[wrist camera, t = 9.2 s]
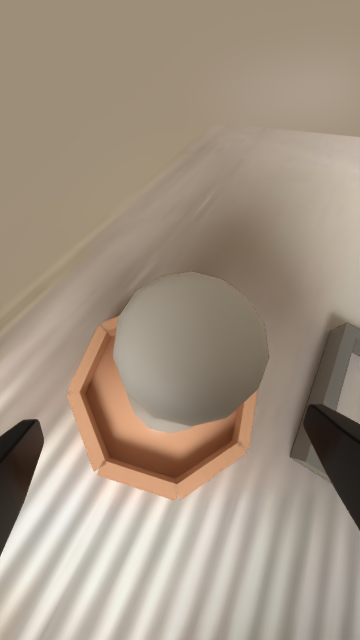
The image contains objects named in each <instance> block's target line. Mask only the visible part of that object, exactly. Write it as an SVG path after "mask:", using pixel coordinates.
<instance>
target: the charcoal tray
mask: <svg viewBox="0 0 360 640" xmlns="http://www.w3.org/2000/svg"><path fill="white" fill-rule="evenodd" d="M352 352H353V353H355V354H357V355H358V356H360V329H358V328H356V327H354V326H352V325H351V324H349V323H345V324H343V325H341V326H339V327H337V328H335V329H333V330H331V332H330V335H329V338H328V341H327V344H326V347H325V350H324V353H323V356H322V359H321V362H320V366H319V369H318V372H317V375H316V378H315V381H314V384H313V387H312V390H311V393H310V396H309V399H308V403H307V406H308V405H309V404H314V403H321V404H323V405H325V406H327V407H329V408H331V409H333V410H335V411H336V408H337V405H338V401H339V397H340V393H341V390H342V386H343V382H344V379H345V375H346V371H347V367H348V364H349V360H350V356H351V353H352ZM307 406H306V409H307ZM306 409H305V412H304V415H303V418H302V421H301V424H300V427H299V430H298V433H297V436H296V439H295V443H294V446H293V449H292V452H291V455H290V457H291V458H292V459H294V460H295V461H297V462H299V463H300V464H302V465H303V466H305V467H307V468H308V469H310V470H311V471H313V472H314V473H316V474H318V475H319V476H321V477H322V478H324V479H326V480H327V481H329V482H330V483H331V481H330V479H329V478H328V476H327V474H326V472H325V470H324V468H323V466H322V464H321V462H320V460H319V458H318V456H317V454H316V452H315V450H314V448H313V446H312V444H311V442H310V440H309V437H308V435H307V433H306V431H305V429H304V426H303V420H304V416H305V413H306Z"/></svg>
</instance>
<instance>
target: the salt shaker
mask: <svg viewBox="0 0 360 640" xmlns="http://www.w3.org/2000/svg"><path fill="white" fill-rule="evenodd" d="M113 358H114V361H115V364H116V366H117V369H118V372H119V374H120V377H121V380H122V382H123V385H124V388H125V390H126V392H127V397H128V399H129V402H130V404H131V407H132V409H133V412H134V414H135V415H136V416H137V417H138V418H139V419H140V420H141V421H142V422H143V423H144V424H145V425H146V426H147V427H148V428H149V429H153V430H157V431H162V432H166V433H175V432H179V431H183V430H188V429H191V428H192V427H193V426H195V425H200V424H204V423H208V422H213V421H217V420H221V419H226V418H228V417H229V416H230V415H231V414H232V413H233V412H234V411H236V410H237V409H238V408H239V407H240V406H241V405H242V404H243V403H244V402H245V401H246V400H247V399H248V398H249V397H250V396H251V395H252V394H253V393H254V392H256V391H257V390H258V388H259V385H260V382H261V380H262V377H263V374H264V371H265V368H266V365H267V362H268V360H269V351H268V344H267V338H266V331H265V325H264V323H263V321H262V320H261V318H260V316H259V315H258V313H257V311H256V310H255V308H254V307H253V305H252V303H251V302H250V300H249V298H248V297H247V296H245V295H244V294H242V293H241V292H240V291H238V290H237V289H235V288H234V287H232V286H231V285H230V284H228V283H227V282H225V281H224V280H223V279H219V278H215V277H212V276H208V275H204V274H200V273H197V272H193V271H192V272H185V273H178V274H171V275H164V276H161V277H159V278H158V279H156V280H154V281H152V282H151V283H149V284H147V285H145V286H144V287H142V288H140V289H138V290H137V291H135V293H134V294H133V296H132V297H131V299H130V300H129V302H128V303H127V305H126V306H125V308H124V310H123V311H122V313H121V314H120V316H119V317H118V322H117V329H116V336H115V343H114V350H113Z"/></svg>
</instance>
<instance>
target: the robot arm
mask: <svg viewBox="0 0 360 640" xmlns="http://www.w3.org/2000/svg"><path fill="white" fill-rule="evenodd" d="M303 426H304V429H305V431H306V433H307V435H308V437H309V440H310V442H311V444H312V446H313V448H314V450H315V452H316V454H317V456H318V458H319V460H320V462H321V464H322V466H323V468H324V470H325V472H326V474H327V476H328V478H329V479H330V481H331V483H332V485H333V486H334V488H335V490H336V491H337V493H338V495H339V496H340V498H341V500H342V501H343V503H344V505H345V506H346V508H347V510H348V512H349V513H350V515H351V517H352V518H353V520H354V522H355V523H356V525H357V527H358V528H359V530H360V424H358V423H357V422H355V421H353V420H351V419H349V418H347V417H346V416H344V415H342V414H340V413H338V412H336V411H335V410H333V409H331V408H329V407H327V406H325V405H323V404H321V403H314V404H309V405H308V406H307V409H306V413H305V416H304V420H303ZM43 444H44V437H43V433H42V429H41V426H40V422H39V421H38V420H37V419H27V420H23V421H21V422H19V423H18V424H17V425H15V426H14V427H12V428H11V429H10V430H8V431H7V432H5V433H4V434H3V435H1V436H0V556H1V553H2V551H3V549H4V547H5V544H6V542H7V540H8V537H9V535H10V533H11V531H12V528H13V526H14V524H15V522H16V519H17V517H18V515H19V513H20V510H21V508H22V505H23V503H24V500H25V498H26V495H27V492H28V489H29V486H30V483H31V480H32V477H33V474H34V471H35V468H36V466H37V463H38V460H39V457H40V454H41V451H42V448H43Z"/></svg>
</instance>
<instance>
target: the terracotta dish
mask: <svg viewBox="0 0 360 640" xmlns="http://www.w3.org/2000/svg"><path fill="white" fill-rule="evenodd" d="M119 316H120V315H119ZM119 316H117V317H115V318H112V319H110V320H108V321H105V322H103V323H101V325H102V327H100V326H98V327H97V329H96V331H95V333H94V336H93V338H92V340H91V342H90V344H89V346H88V348H87V350H86V352H85V355H84V357H83V359H82V361H81V363H80V365H79V367H78V369H77V371H76V373H75V376H74V378H73V380H72V382H71V384H70V386H69V388H68V390H67V391H68V392H71V394H69V395H67V398H68V401H69V403H70V406H71V409H72V412H73V415H74V417H75V420H76V423H77V426H78V429H79V431H80V434H81V437H82V440H83V443H84V445H85V448H86V451H87V454H88V457H89V459H90V462H91V465H92V468H93V471H96V470H97V469H99V468H100V469H99V471H98V474H97V475H99V476H102V477H105V478H108V479H111V480H114V481H117V482H120V483H123V484H126V485H129V486H132V487H135V488H138V489H141V490H144V491H147V492H151V493H154V494H157V495H160V496H163V497H166V498H169V499H172V500H175V501H176V499H177V495H179V498H180V500H181V499H183V498H184V497H186V496H187V495H188V494H190V493H191V492H193V491H194V490H196V489H197V488H198V487H200V486H201V485H203V484H204V483H205V482H207V481H208V480H210V479H211V478H212V477H214V476H215V475H217V474H218V473H219V472H221V471H222V470H224V469H225V468H227V467H228V466H229V465H231V464H232V463H234V462H235V461H236V460H238V459H239V458H241V457H242V456H243V455H245V454H246V453H247V452H246V451H245V449H244V448H247V449H249V446H250V439H251V432H252V425H253V418H254V411H255V404H256V397H257V391H256V392H254V393H253V394H252V395H251V396H250V397H249V398H248V399H247V400H246V401H245V402H244V403H243V404H242V405H241V406H240V407H239V408H238V409H237V410H236V411H234V412H233V413H232V414H231V415H230V416H229V417H228V418H226V419H221V420H217V421H213V422H208V423H204V424H200V425H195V426H193V427H192V428H191V429H188V430H183V431H179V432H175V433H166V432H162V431H157V430H153V429H149V428H148V427H147V426H146V425H145V424H144V423H143V422H142V421H141V420H140V419H139V418H138V417H137V416H136V415H135V414H134V412H133V409H132V407H131V404H130V402H129V399H128V397H127V392H126V390H125V388H124V385H123V382H122V380H121V377H120V374H119V372H118V369H117V366H116V364H115V361H114V358H113V350H114V343H115V336H116V329H117V322H118V317H119Z"/></svg>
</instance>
